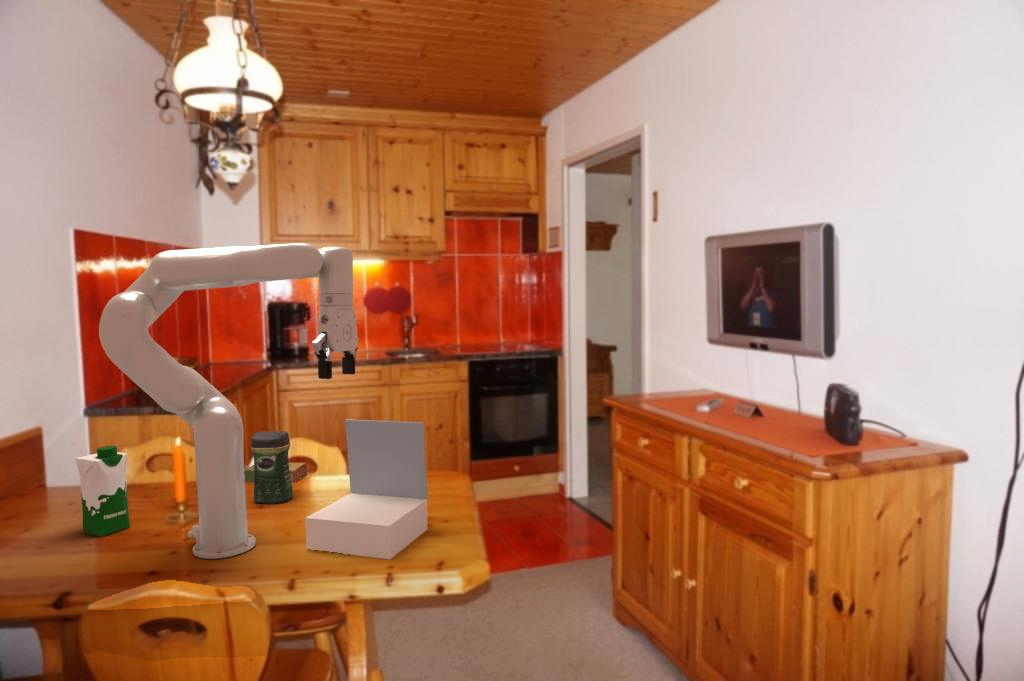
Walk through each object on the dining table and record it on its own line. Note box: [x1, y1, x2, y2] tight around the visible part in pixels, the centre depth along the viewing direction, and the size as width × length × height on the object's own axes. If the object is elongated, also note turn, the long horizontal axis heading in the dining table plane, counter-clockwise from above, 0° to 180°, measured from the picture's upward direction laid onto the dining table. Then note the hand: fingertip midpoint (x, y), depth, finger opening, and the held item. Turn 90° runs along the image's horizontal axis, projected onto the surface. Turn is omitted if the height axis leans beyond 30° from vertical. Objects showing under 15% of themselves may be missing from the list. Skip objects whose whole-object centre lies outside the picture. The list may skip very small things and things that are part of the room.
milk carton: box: [75, 445, 131, 538], centre depth 159 cm, size 9×9×20 cm
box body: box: [304, 492, 428, 560], centre depth 150 cm, size 20×18×7 cm
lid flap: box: [344, 418, 429, 501], centre depth 159 cm, size 20×18×4 cm
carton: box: [244, 462, 308, 483], centre depth 202 cm, size 8×16×4 cm, turn 84°
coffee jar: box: [250, 430, 294, 504], centre depth 180 cm, size 10×8×19 cm
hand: (337, 376), depth 154 cm, fingers open, 9 cm apart
